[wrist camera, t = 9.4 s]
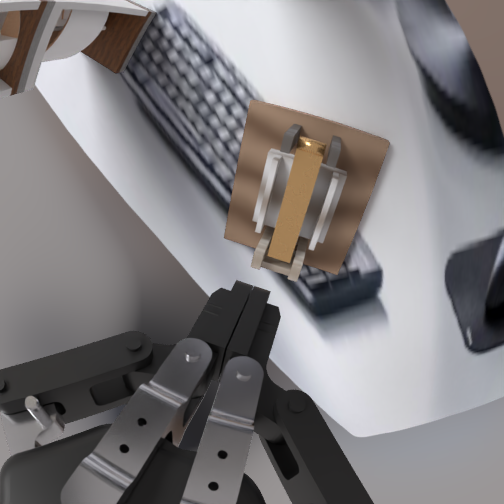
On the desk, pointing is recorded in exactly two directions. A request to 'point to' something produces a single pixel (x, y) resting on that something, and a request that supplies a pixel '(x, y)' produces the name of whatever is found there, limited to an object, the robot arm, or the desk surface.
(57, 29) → the display case
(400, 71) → the desk surface
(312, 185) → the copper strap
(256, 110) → the wooden jig fixture
